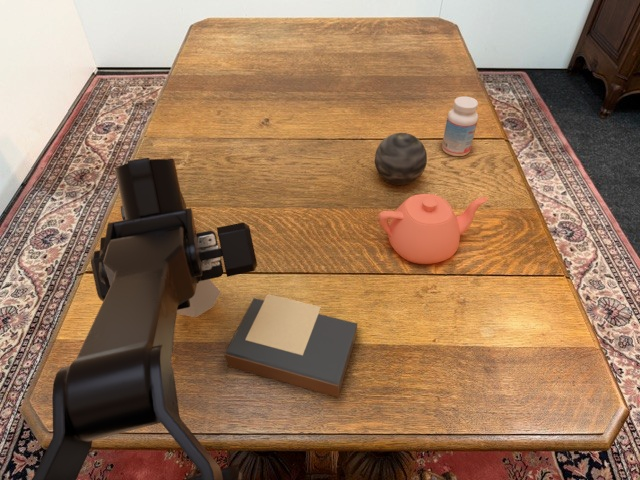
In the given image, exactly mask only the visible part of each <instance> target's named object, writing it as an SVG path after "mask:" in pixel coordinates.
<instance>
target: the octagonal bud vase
mask: <svg viewBox="0 0 640 480" xmlns="http://www.w3.org/2000/svg"><path fill="white" fill-rule="evenodd" d="M221 293H222V292H221V290H220V288H218V286H217V285H216V284H214V282H213V281H212V279H208V280H203V281H199V283H197V287H196V291H195V294H194V296H193V297H192V298H190V299H189V300H190V307H189V308H184V309H180V310H177V315H181V316H185V317H186V316H187V317H191V318H197V317H199V316H201V315H202V314H204V313H206V312H207V311H209V310H211V309H212V308H214V307H215V305H216V302H217V300H218V298H219V296H220V294H221Z"/></svg>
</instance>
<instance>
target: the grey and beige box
mask: <svg viewBox="0 0 640 480" xmlns="http://www.w3.org/2000/svg"><path fill="white" fill-rule="evenodd" d="M321 309H322V306H319V305H316V304H311V303H307V302H304V301H298V300H296V299H291V298H287V297H283V296H279V295H275V294H272V293H271V294H270V293H267V295H266V296H265V298H264V300H263V299H259V298H255V297H253V298H252V300H251V302H250V303H249V306H248V308H247V310H246V312H245V314H244V316H243V318H242V319H241V322H240V324H239V326H238V328H237V329H236V331H235V333H234V336H233V337H232V339H231V342H230V343H229V345H228V348H227V349H226V351H225V353H224V358H225V361H226V364H227V366H228V367H230V368H233V369H237V370H241V371H244V372H249V373H251V374H255V375H258V376H262V377H265V378H269V379H272V380H276V381H279V382H282V383H285V384H290V385H293V386H297V387H301V388H305V389H306V390H307V389H308V390H311V391H314V392H318V393H321V394H326V395H329V396H332V397H335V398H339V396H340V392H341V389H342V385H343V382H344V379H345V376H346V372H347V369H348V366H349V363H350V359H351V355H352V352H353V349H354V345H355V342H356V338H357V337H358V335H357V334H358V323H357V322H353V321H348V320H345V319H341V318H336V317H332V316H328V315H324V314H321V313H320V312H321Z"/></svg>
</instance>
